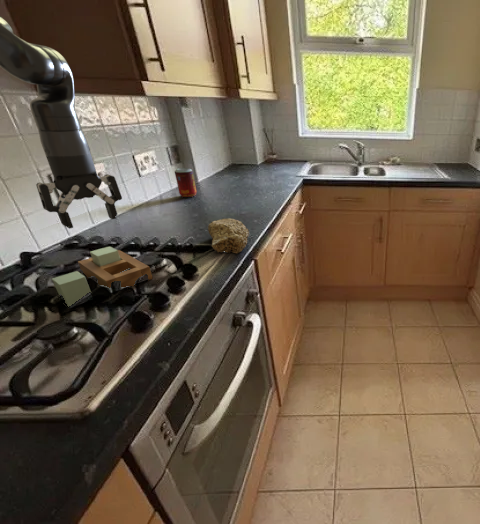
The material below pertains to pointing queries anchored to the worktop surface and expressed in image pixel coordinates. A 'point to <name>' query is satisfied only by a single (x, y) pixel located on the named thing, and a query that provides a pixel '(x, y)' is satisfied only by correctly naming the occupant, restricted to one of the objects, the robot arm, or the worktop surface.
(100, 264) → the pad
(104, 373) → the worktop surface
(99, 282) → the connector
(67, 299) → the pale green block
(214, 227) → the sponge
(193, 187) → the soda can
